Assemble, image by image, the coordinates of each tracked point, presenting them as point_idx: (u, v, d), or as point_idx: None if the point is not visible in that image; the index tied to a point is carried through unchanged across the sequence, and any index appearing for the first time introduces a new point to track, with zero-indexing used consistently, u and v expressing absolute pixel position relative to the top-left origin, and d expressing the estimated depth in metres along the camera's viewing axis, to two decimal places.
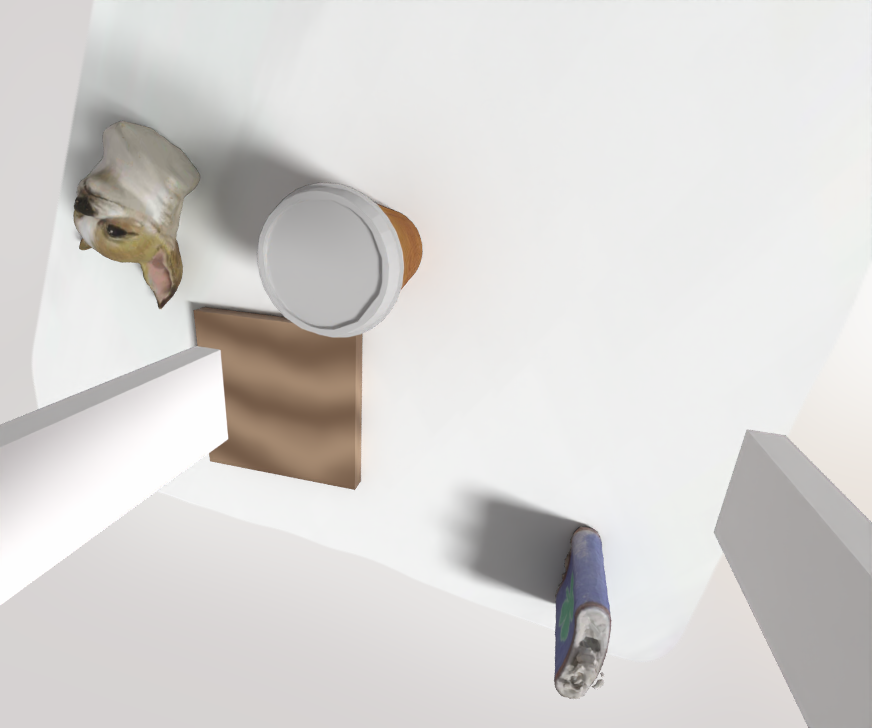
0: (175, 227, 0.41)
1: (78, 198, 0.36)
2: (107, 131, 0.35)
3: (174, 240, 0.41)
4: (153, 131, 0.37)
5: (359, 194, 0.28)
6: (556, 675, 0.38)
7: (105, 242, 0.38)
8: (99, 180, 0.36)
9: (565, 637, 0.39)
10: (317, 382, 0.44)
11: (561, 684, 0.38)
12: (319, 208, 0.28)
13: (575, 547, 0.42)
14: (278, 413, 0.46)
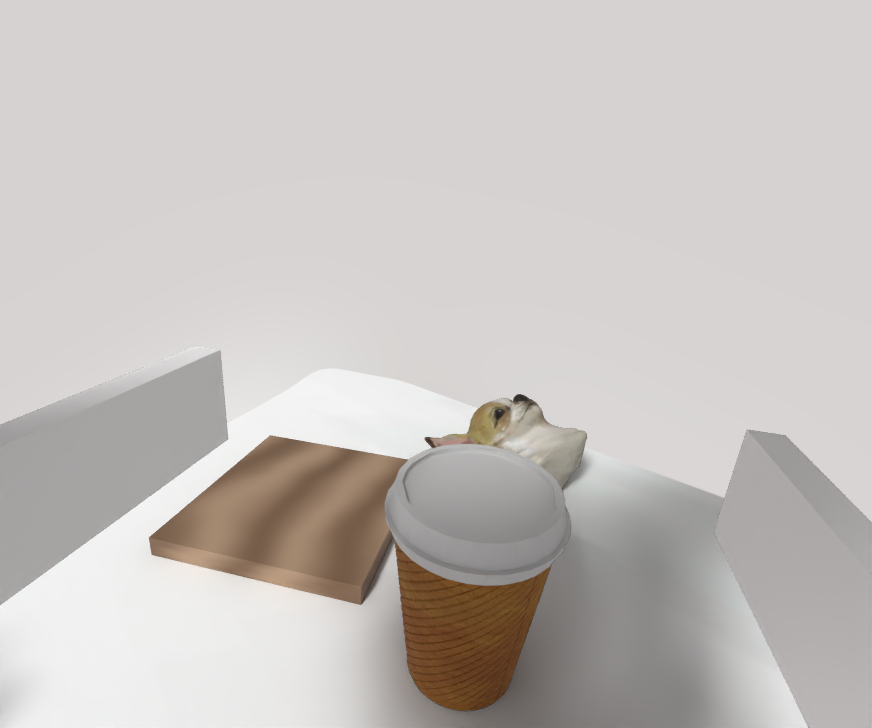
0: None
1: (526, 397, 0.46)
2: None
3: None
4: (577, 463, 0.43)
5: (560, 547, 0.22)
6: None
7: (490, 406, 0.46)
8: (540, 413, 0.45)
9: None
10: (311, 533, 0.35)
11: None
12: (543, 500, 0.24)
13: None
14: (291, 493, 0.40)
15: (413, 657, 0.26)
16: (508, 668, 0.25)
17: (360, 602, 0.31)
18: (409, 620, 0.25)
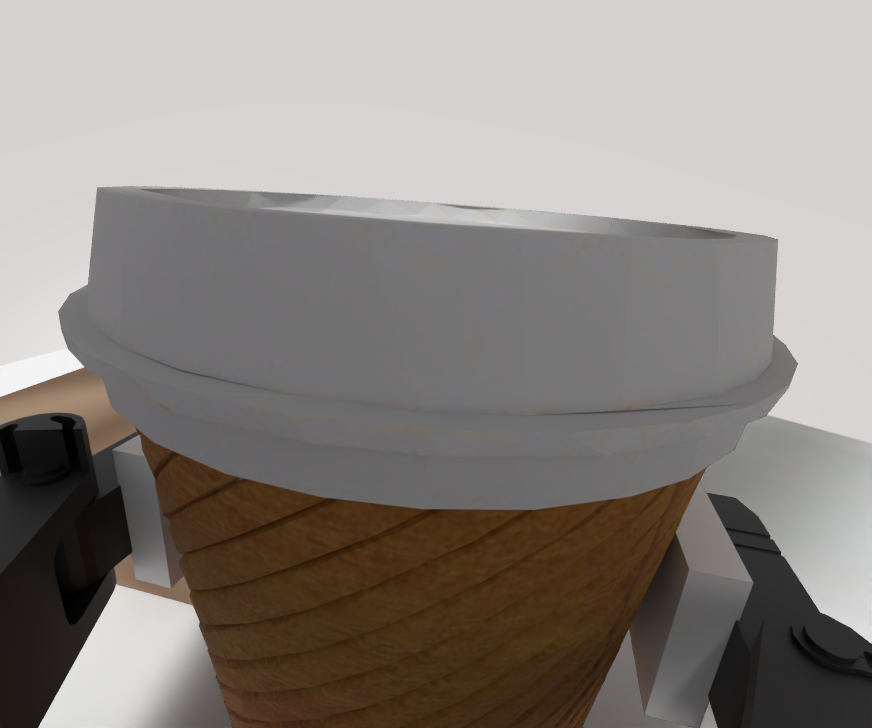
0: None
1: None
2: None
3: None
4: None
5: (782, 364, 0.05)
6: None
7: None
8: None
9: None
10: None
11: None
12: None
13: None
14: None
15: None
16: None
17: None
18: None
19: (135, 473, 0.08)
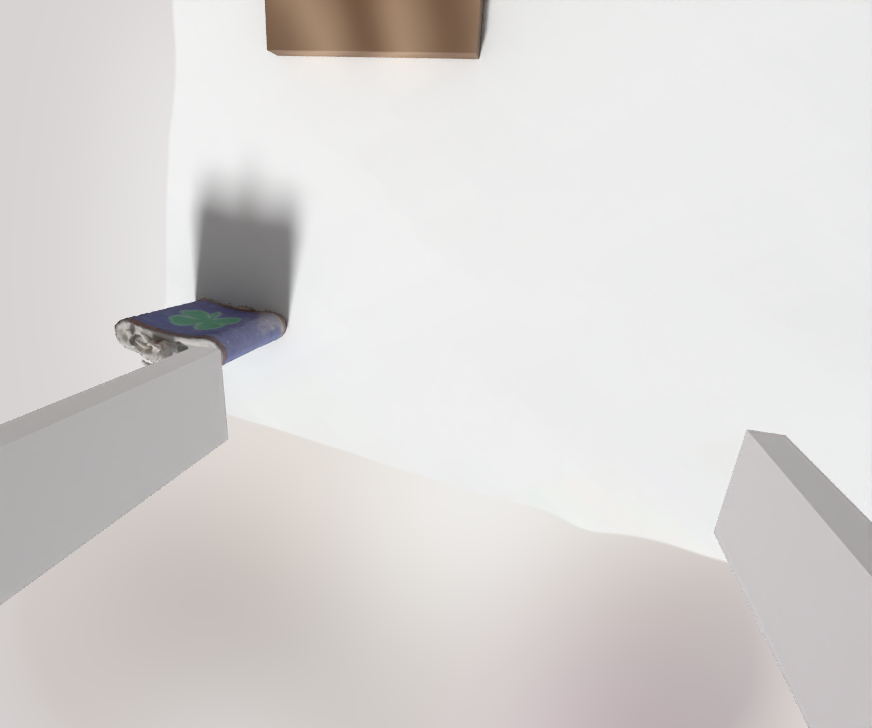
0: None
1: None
2: None
3: None
4: None
5: None
6: (134, 320, 0.37)
7: None
8: None
9: (175, 323, 0.39)
10: None
11: (127, 326, 0.37)
12: None
13: (265, 319, 0.43)
14: None
15: None
16: None
17: (477, 58, 0.34)
18: None
19: None
